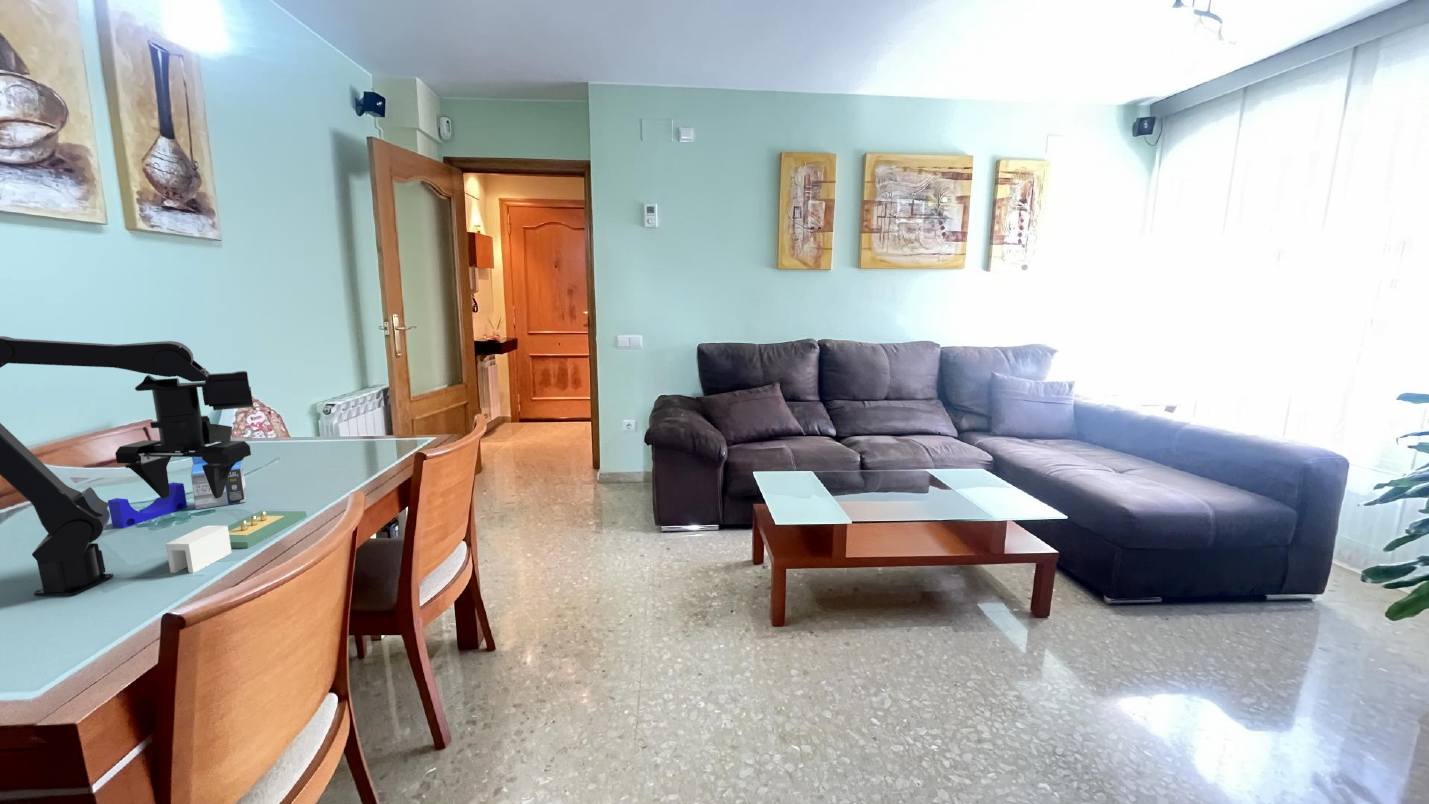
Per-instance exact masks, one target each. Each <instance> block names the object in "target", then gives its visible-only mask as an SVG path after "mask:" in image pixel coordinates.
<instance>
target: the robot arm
mask: <svg viewBox="0 0 1429 804" xmlns="http://www.w3.org/2000/svg"><path fill="white" fill-rule="evenodd" d="M7 364H17V365H18V364H19V365H42V366H43V365H45V366H69V367H70V366H71V367H90V368H91V367H92V368H93V367H94V368H95V367H96V368H114V369H121V370H126V371H129V372H130V371H131V372H137V373H140V374H145V375H146V374H147V375H146V376H145V377H144V379H143V381H141V383H138V384H137V385H136V386H135V387H134V390H135V391H136V392H144V391H151V392H152V399H153V405H154V411H155V418H156V420H155V421H150V422H149V423H150V428H151V429H157V430H158V435H159V440H152V439H151V440H149V439H148V440H146V439H145V440H140V441H136V442H133V443H129V444H125V445H121V446H118V448H117V450H116V451H115V453H114V454H115V460H116V463H117V464H124V467H125V468H126V469H130V470H131V471H132V472H134V473H135V474H136V475H137V476H138V477H140V479H142V481H144V482H145V483H146V484H147V485H148V486H149V487H150V488H151V489H152V490H153V491H154V492H155V493H156V494H157V495H158V496H159V497H161V498H167V497H169V483H170V482H169V477H168V475H169V474H168V469H167V467H168V465H169V462H171V461H170V460H171V458H192V457H202V460H204V461H205V462H206V463H207V464H206V465H203V466H202V467H203V470H204V473H205V475H206V478H207V481H208V483H209V486H210V489H211V491H212V494H213V495H214V497H215V498H220V497H222V495H223V491H224V488H225V485H226V482H227V479H228V476H229V473H230V471H231V469H232V467H233V466H234V465H235V464H236V463H237V462H239V461H242V462H243V460H244V459H245V458H247V457H249V456H252V451H251V446H250V444H249V443H248V442H246V440H231V438H232V433H233V432H232V431H233V426H230V425H223V424H218V423H217V424H215V423H211V421H210V417H208V415H202V411H201V405H200V404H201V403H200V398H199V392H198V388H201V390H202V398H203V403H204V406H208V408H212V409H213V411H223V410H234V409H235V410H237V409H244V408H245V409H247V408H248V409H249V408H254V405H253V404H254V402H253V397H252V396H253V395H252V388H251V386H250V383H249V376H248V371H246V370H238V371H233V372H222V373H221V372H220V373H210V372H209V371H208V370H206V369H207V368H206V367H205V368H204V367H203V366H202V365H201V364H199V363H198V362H197V361H196V360H195V359H194V354H193V352H192V351H191V349H190V348H189V347H188V346H187V345H185V344H184V343H182V342H180V341H174V340H164V341H150V342H149V341H148V342H146V341H144V342H135V343H122V344H112V343H99V342H98V343H96V342H76V341H62V340H47V339H30V338H29V339H27V338H26V339H25V338H13V337H10V336H3V335H1V336H0V369H1V368H2V367H4V366H6V365H7ZM152 375H153V376H160V377H165V378H154V377H153V376H152ZM173 377H174V378H173ZM175 377H176V378H175ZM177 377H178V378H177ZM179 378H181V379H184V380H186V381H189V382H180V380H179ZM211 444H212V445H211ZM0 476H1V477H2V479H4V480H5V481H6V482H7V483H8V484H9V485H11V486H12V487H13V488H14V489H15V490H16V491H18V493H19V494H21V496H23V497H24V498H25V499H26V500H27V501H29V502H30V504H32V506H33V508H34V510H35V512H36V515H37V517H38V519H39V522H40V524H41V526H43V528H44V529H45V531H46V532H47V535H45V537H44V538H43V539H42V540H41V542H40V543H39V544H38V546H37V547H36V548H35V550H34V551H33V552H32V553H31V556H32V557H33V558H34V559H35V560H36V563H37V567H38V573H39V577H40V581H41V587H42V588H39V589H38V590H35V591H33V595H34V596H75V595H77V594H79V593H81V592H84V591H86V590H88V589H90V588H93V587H94V586H97V585H99V584H100V583H103V582H106V581H107V580H110V579H112V578H113V577H114V573H106V565H105V561H104V556H103V551H102V550H100V547H99V543H95V541H96V540H97V539H99V537H100V536H101V535H102V533H103V532H104V530H105V529H106V526H107V525H108V523H109V520H110V519H111V515H110V510H109V503H108V501H104V500H102V498H100V497H99V495H97V493H96V491H95V490H94V489H93V488H92V487H87V488H85V489H84V490H83V491H79V490H77V489H74V488H73V487H70V486H69V485H66V484H65V483H64V481H63V480H61V479H60V478H59V477H58V476H57V474H55V473H54V472H53V471H51V469H49V468H48V467H47V466H46V464H44V462H42V461H41V460H40V459H39V458H38V457H37V456H36V455H35V454H34V453H32V451H30V449H28V448H27V446H25V445H24V443H22V442H21V441H20V440H19V439H18V438H17V437H16V436H15V435H13V433H12V432H11V431H9V429H8V428H6V427H5V426H4V425H3V424H2V423H1V422H0ZM93 542H94V543H93Z"/></svg>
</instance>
